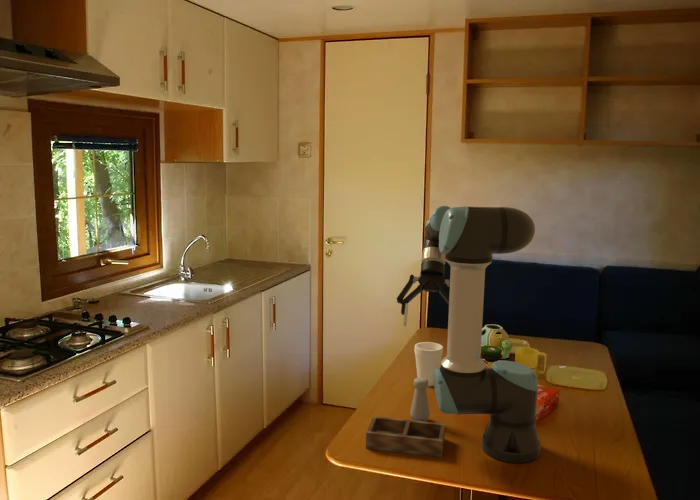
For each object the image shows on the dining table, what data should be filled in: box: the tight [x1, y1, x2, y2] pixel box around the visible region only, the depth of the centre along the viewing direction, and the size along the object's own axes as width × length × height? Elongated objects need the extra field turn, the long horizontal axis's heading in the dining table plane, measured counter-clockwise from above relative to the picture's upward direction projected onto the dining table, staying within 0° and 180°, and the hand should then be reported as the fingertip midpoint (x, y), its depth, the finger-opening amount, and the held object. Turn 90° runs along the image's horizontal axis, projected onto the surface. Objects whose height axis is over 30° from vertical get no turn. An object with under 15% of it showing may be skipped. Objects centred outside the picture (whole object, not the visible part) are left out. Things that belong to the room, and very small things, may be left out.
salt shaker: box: [409, 377, 431, 422], centre depth 179 cm, size 6×6×13 cm
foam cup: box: [414, 341, 444, 387], centre depth 209 cm, size 10×9×13 cm
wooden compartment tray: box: [365, 415, 446, 458], centre depth 166 cm, size 20×10×4 cm, turn 77°
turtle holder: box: [481, 323, 514, 360], centre depth 235 cm, size 12×18×12 cm
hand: (426, 327), depth 188 cm, fingers open, 13 cm apart
